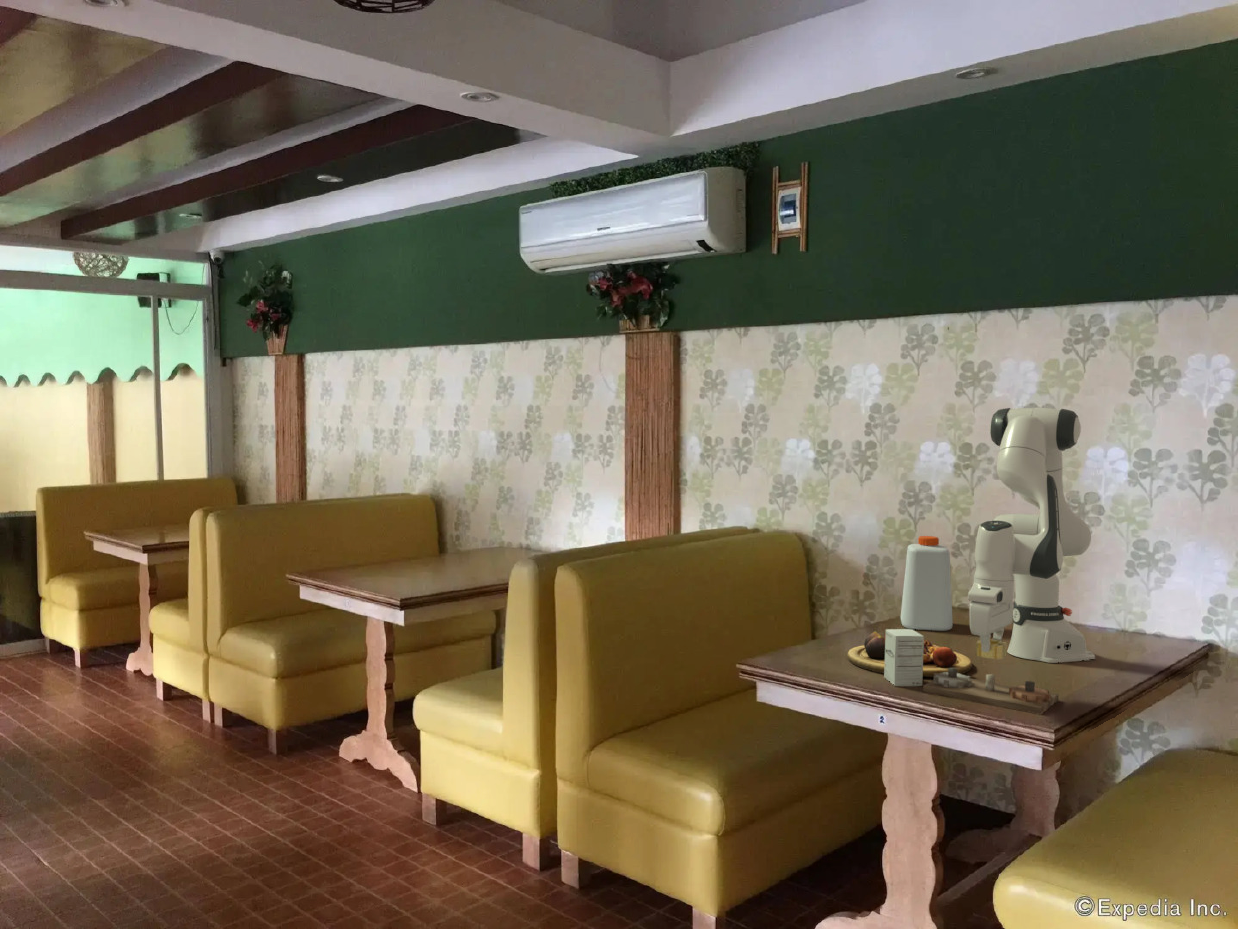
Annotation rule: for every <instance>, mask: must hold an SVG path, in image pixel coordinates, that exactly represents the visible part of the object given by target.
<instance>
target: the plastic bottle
mask: <svg viewBox="0 0 1238 929" xmlns="http://www.w3.org/2000/svg"><path fill="white" fill-rule="evenodd" d="M939 541H940V539H939V537H938V536H932V535H921V536H919V537H918V541H917V542H918V543H911V544H909V545H908V546H907V548H906V558H905V559H906V561H905V571H904V578H903V587H902V599H901V610H900V623H901V624H902V626H903V627H904V628H905V629H913V630H915V629H916V630H917V631H918V630H919V631H931V630H932V631H931V632H933V631H935V632H936V631H937V632H946V631H950V630H951V629H952V628H953V605H952V604H953V603H952V602H953V601H952V581H951V579H952V578H951V575H952V574H951V556H950V555H951V554H950V550H949V548H948V547H947V546H945V545H942V544H939Z"/></svg>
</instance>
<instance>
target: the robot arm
mask: <svg viewBox="0 0 1238 929" xmlns="http://www.w3.org/2000/svg"><path fill="white" fill-rule="evenodd" d="M1081 432H1082V427H1081V422H1080V419H1079V416H1078V415H1077V413H1076V412H1075V411H1074V410H1069V409H1066V408H1061V409H1057V408H1050V407H1039V406H1038V407H1037V406H1035V407H1021V408H1010V407H1007V408H1000V409H998V410H997V411H995V412H994V413H993V414H992V417H991V420H990V423H989V434H990V439H991V441H992V442H993V443H994V445H996V446H998V447H999V450H998V454H997V460H996V461H997V462H996V473H997V476H998V478H999V480H1000V481H1001V482H1002V484H1004V486H1006V487H1007V488H1008V489H1010V490H1011V491H1014V492H1015V493H1017V494H1019V496H1020V497H1021V498H1022V499H1023V500H1024V501H1026V502H1027V503H1029V504H1031V505H1033V506H1035V507H1036V508H1037V509H1038V510H1039V514H1032V513H1031V514H1028V513H1009V514H1001V515H997V516H996V517H995V518H994V519H993V520H987V521H984V522H982V523H981V524H979V526H978V529H977V534H976V540H975V550H974V561H975V566H976V567H975V572H974V575H973V584H972V587H971V588H970V590H968V592H967V600H968V601H969V602H970V603H969V629H970V632H971V634H972V635H975V636H979V640H980V641H981V650H982V651H983V652H989V651H991V644H990V639H991V640H998V641H1002V639H1003V634H1004V631H1005V628H1006V627H1007V626H1010V625H1012V623H1013V627H1012V630H1011V632H1012V633H1011V638H1010V641H1009V644H1008V646H1007V651H1006V653H1008V654H1010V655H1012V656H1014V657H1017V658H1021V659H1026V660H1033V661H1038V662H1039V661H1040V662H1044V663H1049V664H1058V662H1059V663H1070V662H1080V661H1081V662H1083V661H1082V660H1084V661H1090V660H1089V659H1095V660H1096V656H1095V654H1094V653H1093V652H1092V651H1089V650H1087V644H1086V639H1085V636H1084V635H1083V634H1082V632H1080V630H1078V629H1077V628H1076V627H1074V626H1073V625H1072V624H1071V623H1069V621H1067V620H1066V619H1065V616H1067V617H1071V616H1072V614H1073V610H1072V609H1071V608H1068V607H1062V606H1061V605H1059V602H1060V601H1059V600H1060V599H1059V598H1060V596H1059V595H1060V580H1059V577H1058V576H1057V574H1058V573H1059V572H1061V569H1062V567H1063V562H1064V557H1073V556H1079V555H1080V556H1081V555H1083V554H1084V553H1085V552H1086V551H1087V550H1088V549H1089V547H1090V546H1091V541H1092V532H1091V530H1090V527H1089V525H1088V524H1087V523H1086V521H1084V520H1083V519H1082V518H1080V517H1079V516H1077V514H1075V512H1073V510H1072V509H1071V507H1070V506H1069V505H1068V503H1067V500H1066V498H1065V492H1064V487H1063V486H1064V485H1063V484H1064V483H1063V452H1064V451H1066V450H1069V449H1072V448H1073V447H1074V446H1076V444H1077V443H1078V440H1079V439H1080V436H1081ZM1014 587H1015V588H1014ZM1014 589H1015V590H1014ZM1014 591H1015V592H1014ZM1014 593H1015V594H1014ZM1014 596H1015V598H1014ZM1013 600H1014V602H1013ZM991 634H993V636H992V635H991ZM991 636H992V638H991Z"/></svg>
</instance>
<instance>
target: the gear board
mask: <svg viewBox="0 0 1238 929" xmlns="http://www.w3.org/2000/svg"><path fill="white" fill-rule="evenodd" d="M1024 683H1025V684H1024V685H1023V684H1022V685H1021V684H1018V685H1017V686H1014V685H1009V684H1003V683H998V682H996V675H995V674H993V673H992V674H990V673H987V674H985V680H981V679H977V678H975V679H974V678H972V677H971V676H970V675H965V674H961V673H957V669H956V668H948V673H947V672H942V673H939V674H937V673H935V674H934V677H933V680H931V681H929V682H927V683H926V684H923V685H922V692H923V693H928V694H932V693H934V694H933V695H937V694H938V695H937V696H942V695H944V696H943V697H947V696H948V698H952V697H953V699H958V700H963V699H965V700H964V701H968V700H969V702H973V701H974V702H973V703H978V702H979V704H984V705H989V706H994V705H995V707H999V706H1000V708H1004V707H1006V708H1005V709H1009V708H1010V710H1014V709H1015V710H1016V711H1020V710H1022V711H1021V712H1025V711H1030V712H1034V713H1033V714H1035V713H1039V714H1038V715H1040V714H1041V713H1042V712H1044V711H1045V712H1046V711H1047V710H1049V707H1050V706H1051V705H1052V706H1054V705H1055V704H1056V703H1058V701H1059V694H1058V693H1054V692H1050V690H1048V689H1043V688H1040V687H1038V686H1036V684H1035V681H1031V680H1027V681H1026V680H1025V682H1024ZM1055 702H1056V703H1055ZM1054 703H1055V704H1054ZM1052 706H1051V707H1052ZM1051 707H1050V708H1051ZM1015 710H1014V711H1015ZM1030 712H1029V713H1030ZM1045 712H1044V713H1045ZM1042 714H1043V713H1042ZM1042 714H1041V715H1042Z"/></svg>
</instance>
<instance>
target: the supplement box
mask: <svg viewBox="0 0 1238 929" xmlns="http://www.w3.org/2000/svg"><path fill="white" fill-rule="evenodd" d="M885 634H886V637H885V668H884V673H883V674H884V676H883V679H885V678H886V679H885V680H886V681H888V682H889V681H890V682H889V683H890V684H892V685H893V684H894V685H893V686H894V687H923V679H924V677H923V650H924V640H925V635H923V634H921V633H920V632H918V631H915V629H909V628H897V629H895V628H891V629H890V628H889V629H888V628H887V629H885ZM899 685H900V686H899Z"/></svg>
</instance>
